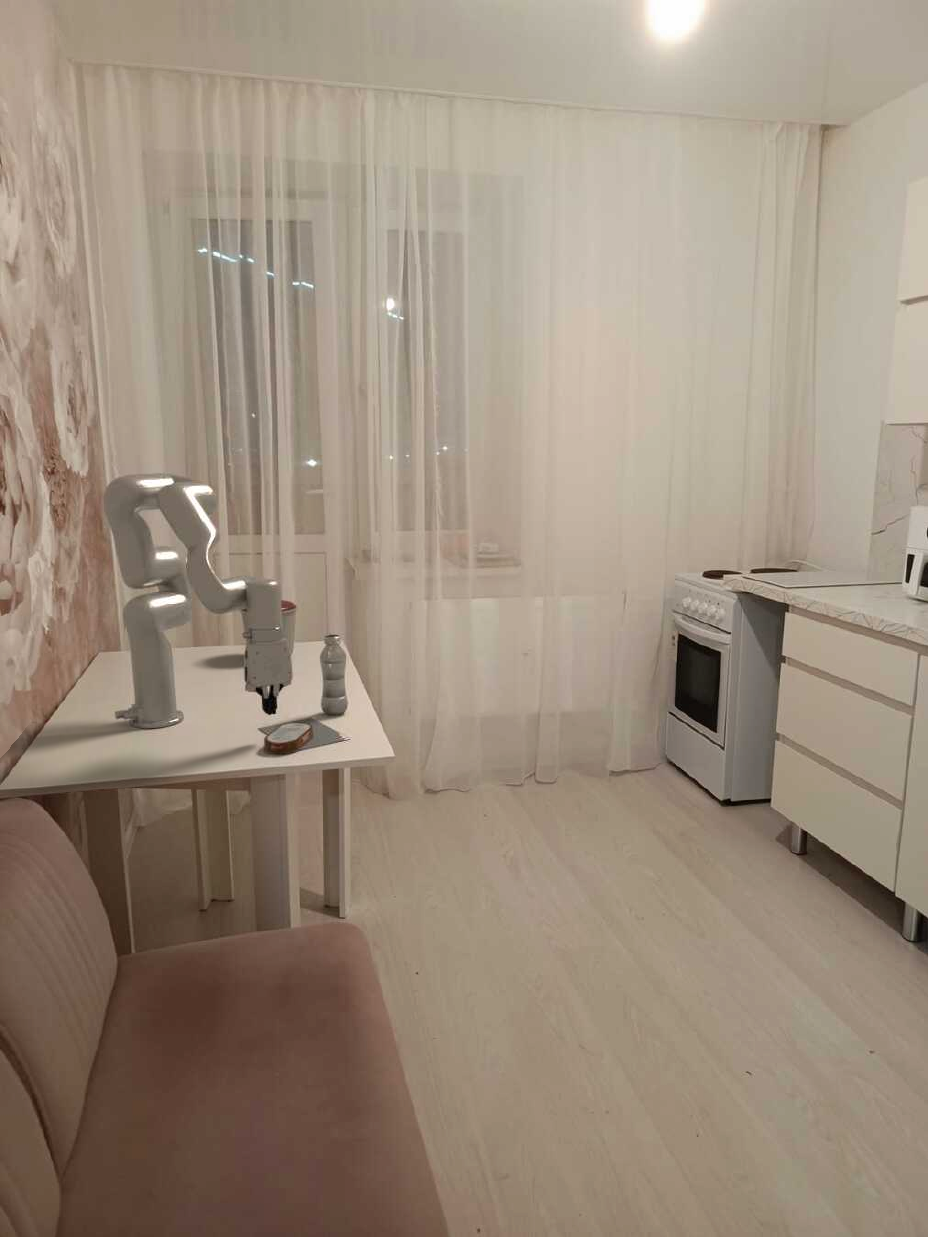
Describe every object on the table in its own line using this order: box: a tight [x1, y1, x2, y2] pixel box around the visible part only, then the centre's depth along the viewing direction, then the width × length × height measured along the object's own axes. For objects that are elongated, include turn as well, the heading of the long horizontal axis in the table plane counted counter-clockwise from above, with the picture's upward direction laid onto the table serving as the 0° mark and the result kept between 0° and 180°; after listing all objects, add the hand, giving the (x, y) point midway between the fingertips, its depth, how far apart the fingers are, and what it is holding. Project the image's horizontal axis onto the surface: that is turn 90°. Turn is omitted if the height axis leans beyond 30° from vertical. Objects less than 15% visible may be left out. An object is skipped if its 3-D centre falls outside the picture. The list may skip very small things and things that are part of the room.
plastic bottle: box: [319, 634, 349, 715], centre depth 223 cm, size 6×7×20 cm
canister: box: [238, 599, 299, 656], centre depth 280 cm, size 18×18×21 cm
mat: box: [257, 717, 348, 753], centre depth 209 cm, size 14×20×1 cm
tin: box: [263, 722, 313, 755], centre depth 202 cm, size 15×3×8 cm
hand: (270, 713), depth 203 cm, fingers closed
